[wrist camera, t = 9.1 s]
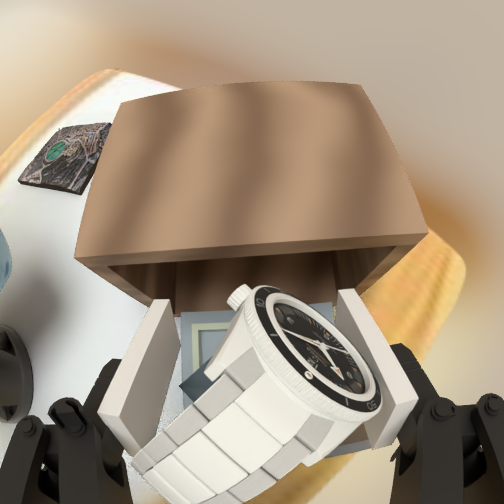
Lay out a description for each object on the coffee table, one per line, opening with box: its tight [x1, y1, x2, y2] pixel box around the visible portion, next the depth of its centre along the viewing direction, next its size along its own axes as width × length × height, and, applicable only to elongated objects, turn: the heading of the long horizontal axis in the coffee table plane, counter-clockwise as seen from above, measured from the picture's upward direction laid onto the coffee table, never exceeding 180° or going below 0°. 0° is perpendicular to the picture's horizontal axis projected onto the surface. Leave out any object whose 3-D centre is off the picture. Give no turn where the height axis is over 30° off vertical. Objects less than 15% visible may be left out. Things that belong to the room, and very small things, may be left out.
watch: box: [131, 284, 382, 504], centre depth 9 cm, size 6×8×11 cm
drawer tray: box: [181, 302, 371, 458], centre depth 21 cm, size 18×13×8 cm
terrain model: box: [18, 123, 112, 195], centre depth 40 cm, size 20×15×3 cm
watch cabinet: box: [74, 81, 429, 317], centre depth 24 cm, size 20×14×17 cm
